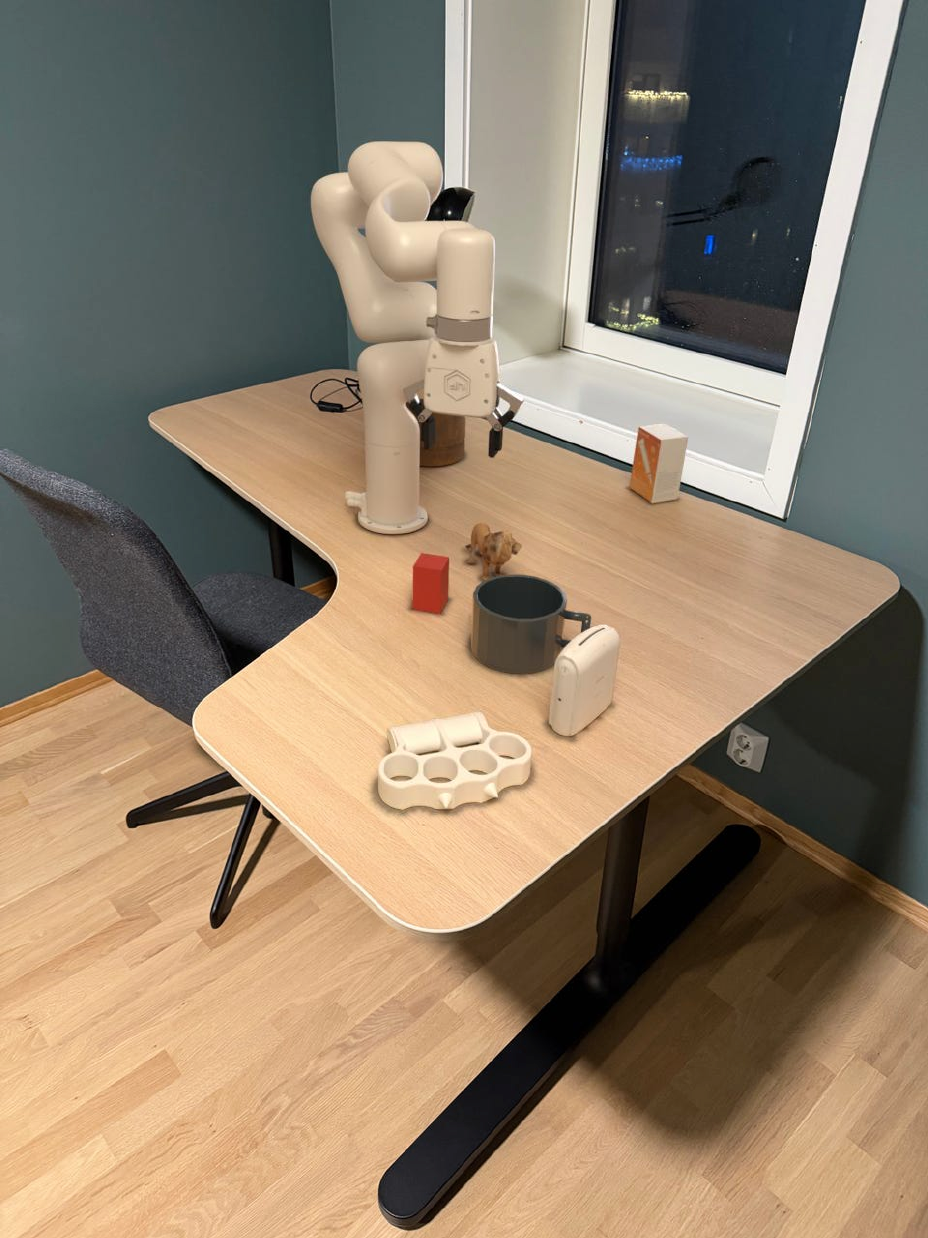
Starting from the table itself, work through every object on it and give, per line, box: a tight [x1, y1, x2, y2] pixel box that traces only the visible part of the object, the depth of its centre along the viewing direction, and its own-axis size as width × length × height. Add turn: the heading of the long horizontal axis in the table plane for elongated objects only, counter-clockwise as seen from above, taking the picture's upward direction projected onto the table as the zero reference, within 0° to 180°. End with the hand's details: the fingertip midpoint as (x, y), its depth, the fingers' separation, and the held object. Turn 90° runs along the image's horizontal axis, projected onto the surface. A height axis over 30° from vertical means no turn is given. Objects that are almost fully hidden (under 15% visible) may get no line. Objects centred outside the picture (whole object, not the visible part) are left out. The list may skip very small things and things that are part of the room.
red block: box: [412, 552, 450, 615], centre depth 133 cm, size 4×4×8 cm
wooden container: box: [406, 399, 466, 467], centre depth 183 cm, size 15×15×22 cm
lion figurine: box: [464, 522, 523, 581], centre depth 143 cm, size 15×5×9 cm, turn 28°
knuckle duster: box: [377, 710, 533, 811], centre depth 101 cm, size 3×18×15 cm
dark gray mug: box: [470, 573, 592, 675], centre depth 122 cm, size 16×13×8 cm
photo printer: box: [548, 624, 621, 737], centre depth 109 cm, size 10×4×12 cm, turn 140°
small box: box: [629, 423, 689, 504], centre depth 171 cm, size 8×6×13 cm
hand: (461, 450), depth 127 cm, fingers open, 9 cm apart
